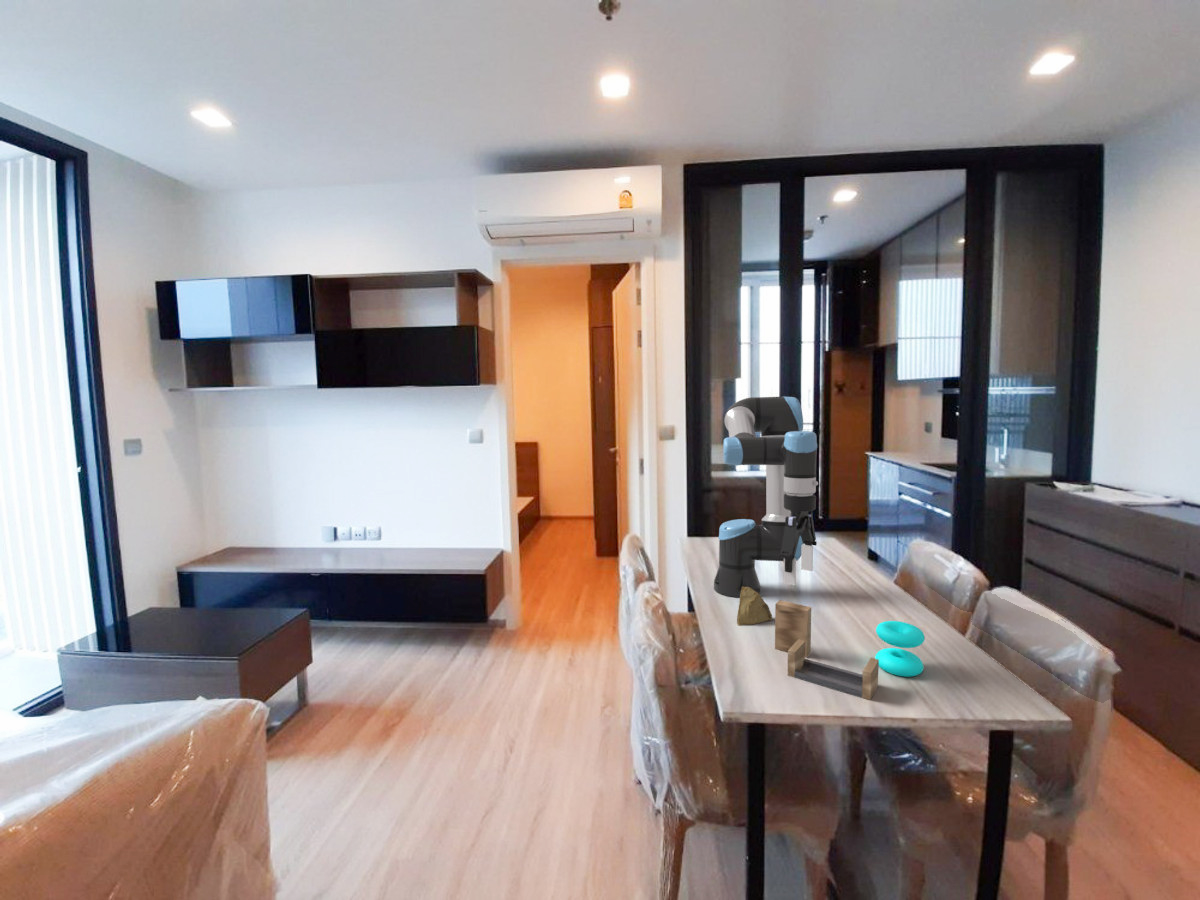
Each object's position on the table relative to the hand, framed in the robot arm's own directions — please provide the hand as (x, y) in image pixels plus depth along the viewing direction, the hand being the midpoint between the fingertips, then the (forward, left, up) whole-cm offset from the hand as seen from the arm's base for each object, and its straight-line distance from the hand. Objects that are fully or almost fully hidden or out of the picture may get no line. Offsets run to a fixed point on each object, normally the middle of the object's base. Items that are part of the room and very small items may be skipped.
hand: (798, 576), depth 137 cm
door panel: (-1, -1, -19) cm, 19 cm away
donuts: (+22, +5, -19) cm, 30 cm away
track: (+11, -10, -19) cm, 24 cm away
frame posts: (+11, -10, -19) cm, 24 cm away
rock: (-16, +11, -20) cm, 27 cm away
